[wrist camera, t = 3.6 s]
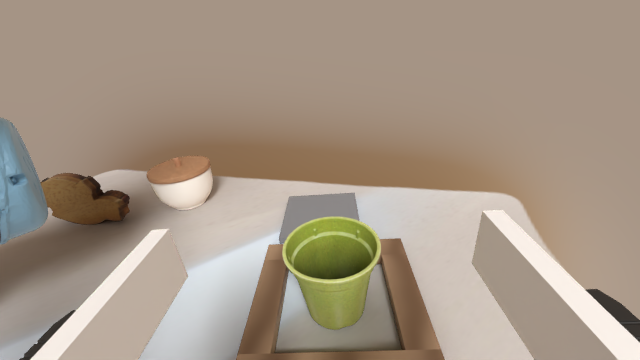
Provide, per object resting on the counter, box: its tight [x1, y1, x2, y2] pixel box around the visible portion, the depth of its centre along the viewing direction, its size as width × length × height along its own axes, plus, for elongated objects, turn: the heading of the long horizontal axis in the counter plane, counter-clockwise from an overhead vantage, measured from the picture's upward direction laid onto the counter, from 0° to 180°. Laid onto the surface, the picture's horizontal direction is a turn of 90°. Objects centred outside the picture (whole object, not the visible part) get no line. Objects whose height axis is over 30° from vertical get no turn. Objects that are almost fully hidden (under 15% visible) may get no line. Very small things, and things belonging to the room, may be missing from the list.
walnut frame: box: [236, 239, 445, 360], centre depth 30 cm, size 18×18×2 cm
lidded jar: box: [147, 156, 213, 210], centre depth 52 cm, size 11×11×9 cm
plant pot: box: [282, 217, 381, 330], centre depth 29 cm, size 9×9×9 cm
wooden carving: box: [40, 173, 130, 224], centre depth 49 cm, size 16×5×10 cm, turn 89°
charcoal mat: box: [279, 193, 359, 244], centre depth 46 cm, size 12×12×1 cm
